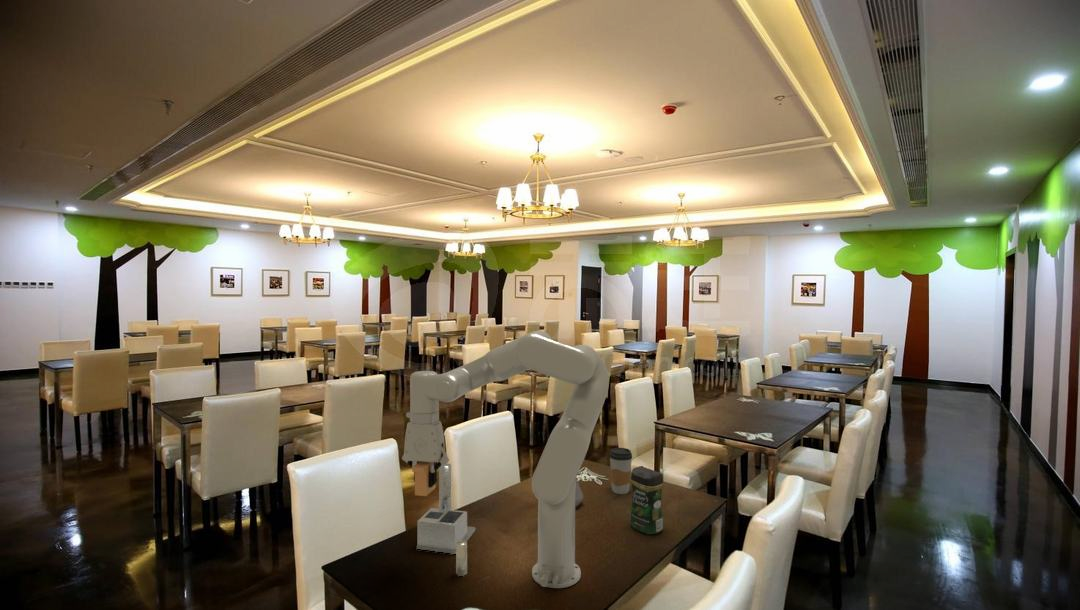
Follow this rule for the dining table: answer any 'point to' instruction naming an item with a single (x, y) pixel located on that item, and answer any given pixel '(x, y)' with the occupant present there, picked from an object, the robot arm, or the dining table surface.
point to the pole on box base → (443, 521)
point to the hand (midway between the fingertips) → (425, 484)
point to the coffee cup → (620, 470)
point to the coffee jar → (646, 500)
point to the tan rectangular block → (422, 479)
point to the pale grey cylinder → (461, 558)
